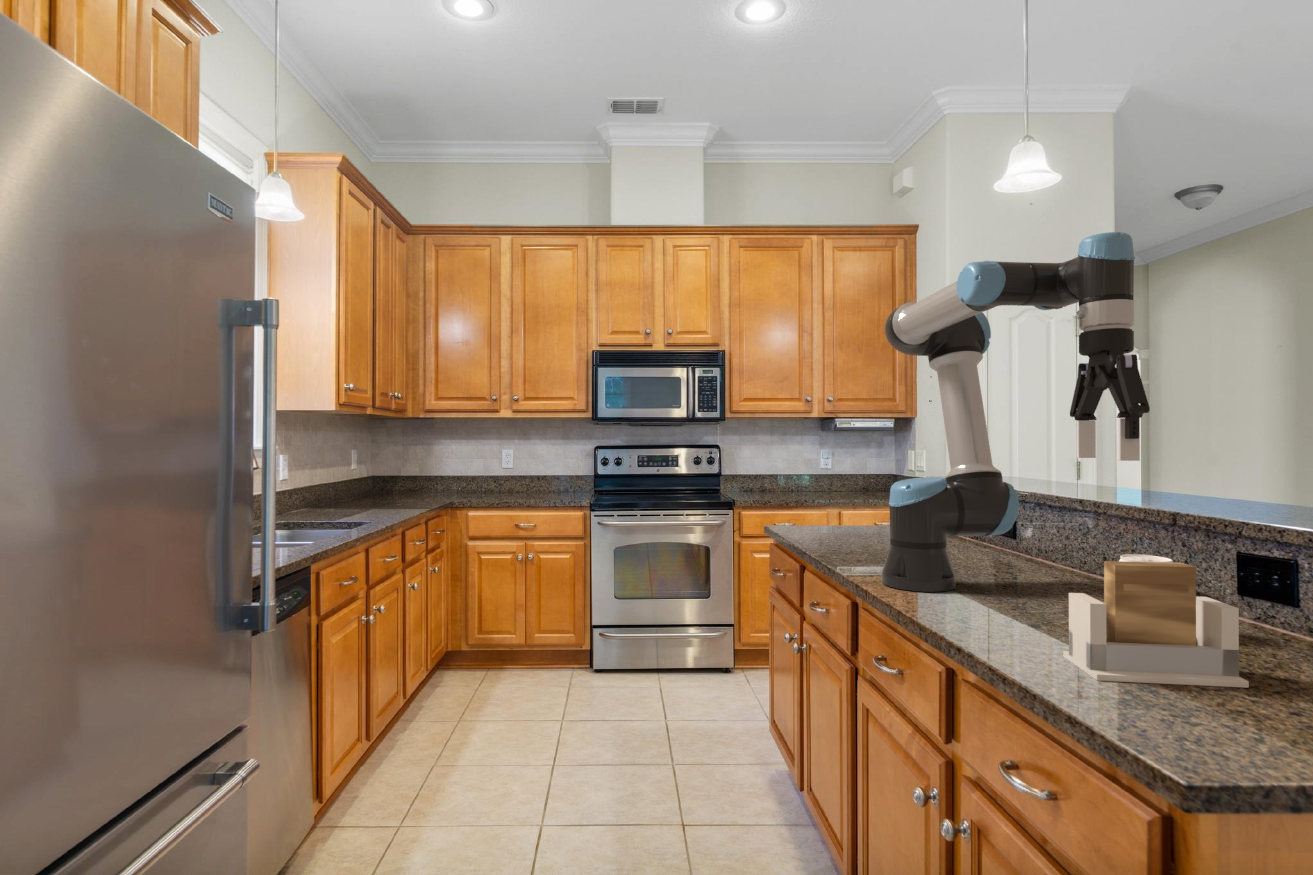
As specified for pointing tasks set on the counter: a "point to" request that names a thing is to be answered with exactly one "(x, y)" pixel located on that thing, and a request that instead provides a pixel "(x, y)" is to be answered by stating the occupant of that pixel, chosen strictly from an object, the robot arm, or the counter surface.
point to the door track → (1157, 648)
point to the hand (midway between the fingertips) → (1106, 459)
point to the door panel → (1150, 602)
